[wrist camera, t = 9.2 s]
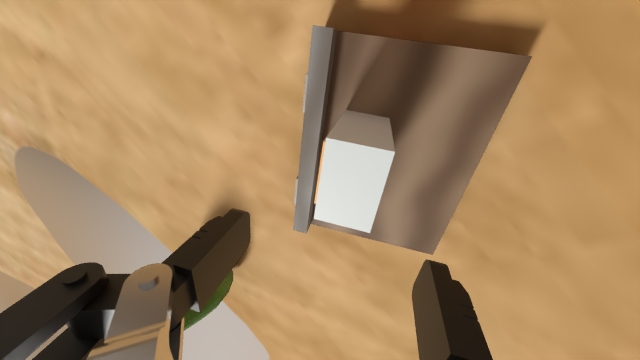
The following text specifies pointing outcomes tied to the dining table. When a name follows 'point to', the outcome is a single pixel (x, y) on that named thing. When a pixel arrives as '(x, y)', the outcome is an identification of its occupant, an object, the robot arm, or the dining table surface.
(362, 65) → the shelf board
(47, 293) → the robot arm
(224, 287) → the avocado
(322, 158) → the tea box
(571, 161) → the dining table surface
